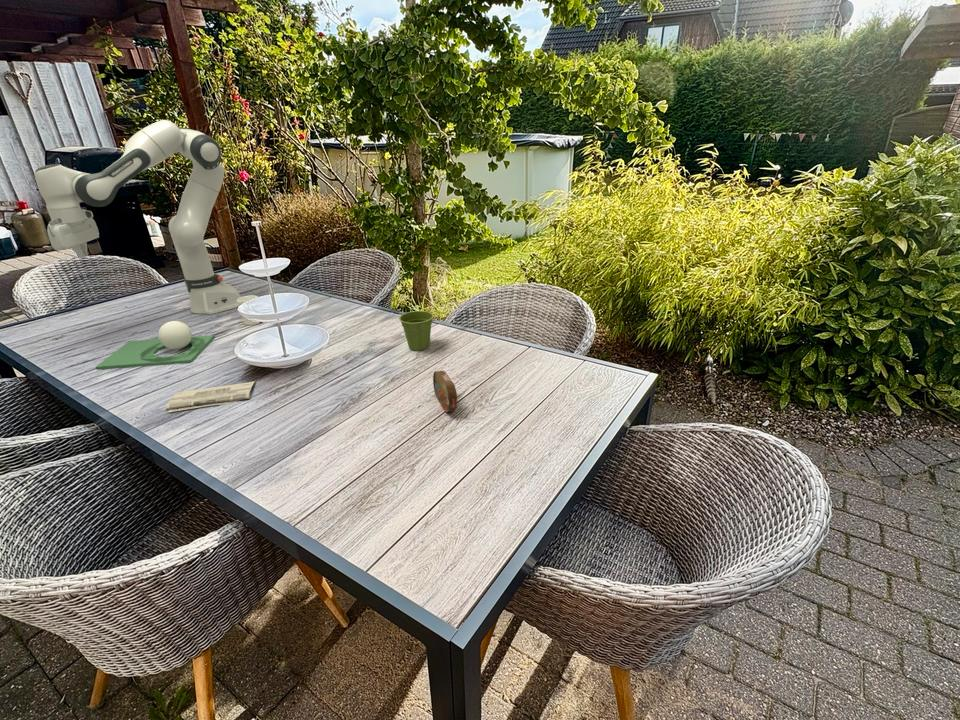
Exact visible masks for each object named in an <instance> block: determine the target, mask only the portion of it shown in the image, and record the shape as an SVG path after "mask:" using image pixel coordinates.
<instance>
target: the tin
mask: <svg viewBox="0 0 960 720" xmlns="http://www.w3.org/2000/svg"><path fill="white" fill-rule="evenodd" d="M432 384H433V392H434V395H435V397H436V399H437V401H438V402H439V404H440V406H441V408H442V409H443V411H444V412H445V413H449V412H454V411H456V410H457V408H458V407H457V406H458V405H457V404H458V403H457V402H458V394H457V393H458V392H457V388H456V385H455V383H454V382H453V381H452V379H451V377H450V376H449V375H448V374H447V372H446V371H445V370H438V371H437V370H435V371H434V372H433V374H432Z"/></svg>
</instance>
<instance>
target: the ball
mask: <svg viewBox="0 0 960 720" xmlns="http://www.w3.org/2000/svg"><path fill="white" fill-rule="evenodd" d="M157 337H158V339H159V340H160V342H161V343H162V344H163V345H164V346H166V348H168V349H170V350H179V349H180V350H181V349H183V348H185V347H187V346H188V344H189V343H190V341H191V338H192V337H193V333H192V330H191V328H190V327H189V326H188V325H187V324H186V323H184V322H182V321H179V320H171V321H167V322H165V323H164V324H162V326H161V327H159V330H158V335H157Z"/></svg>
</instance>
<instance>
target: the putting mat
mask: <svg viewBox="0 0 960 720" xmlns="http://www.w3.org/2000/svg"><path fill="white" fill-rule="evenodd" d="M215 338H216V337H215V335H214V334H213V335H211V334H210V335H209V334H208V335H197V336H196V335H195V336H192V338H191V341H190V343H189V344H188V345H189V346H191V348H189V349H188V350H186V351H184V352H181V353H177V354H173V355H168V356H165V355H164V356H159V355H156V354H157V353H158V352H159V350H160V351H162V350H164V349H166V348H167V347H166V346H164V345H163V344H162V343H161V342H160V340H159V338H154V339H153V338H152V339H140V340H139V339H138V340H128V341H127V342H126V343H125V344H123V345H122V346H120V348H118V349H116V351H114V352H112V354H110V355H109V356H108V357H107V358H104V360H103V361H101V362H100V363H99V364H97V365H95V369H98V370H108V369H109V370H110V369H123V368H137V367H152V366H162V365H163V366H164V365H166V364H167V365H176V364H175V363H181V364H191V362H192V361H193V360H194V359H195V358H196V359H197V357H198V356H200V354H201V353H202V352H203V351H204V350H205V349H206V348H207V347H208V346H209V345H210V344H211V342H213V340H215ZM188 345H187V346H188ZM154 354H155V355H154ZM196 359H195V360H196ZM195 360H194V361H195ZM192 363H193V362H192Z"/></svg>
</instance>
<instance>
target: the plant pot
mask: <svg viewBox="0 0 960 720" xmlns="http://www.w3.org/2000/svg"><path fill="white" fill-rule="evenodd" d="M433 318H435V315H434V313H433V312H430V311H427V310H412V311H408V312H405V313H402V314H401V315H399V317H398V320H399V321H400V323H401V326H402V327H403V330H404V334H405V338H406V341H407V346H408V348H409V349H410V350H412V351H420V350H421V351H422V350H427V349H428V348H429V347H430V344H431V331H432V330H431V329H432V323H433Z"/></svg>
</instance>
